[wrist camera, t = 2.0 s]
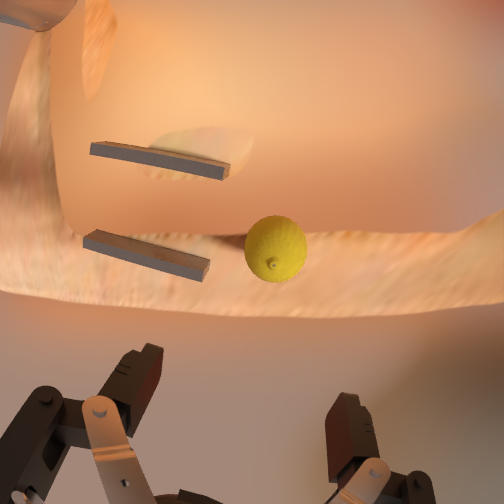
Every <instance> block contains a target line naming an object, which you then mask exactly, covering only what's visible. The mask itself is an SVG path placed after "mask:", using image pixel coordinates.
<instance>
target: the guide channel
mask: <svg viewBox="0 0 504 504" xmlns="http://www.w3.org/2000/svg"><path fill="white" fill-rule="evenodd" d="M90 155H96V156H102V157H108V158H114V159H120V160H125V161H130V162H136V163H141V164H146V165H151V166H156V167H161V168H166V169H171V170H176V171H181V172H186V173H190V174H195V175H200V176H204V177H209V178H213V179H217V180H224V179H225V178H226V177H228V174H229V169H230V164H226V163H221V162H217V161H212V160H208V159H203V158H198V157H193V156H188V155H183V154H178V153H173V152H167V151H162V150H156V149H151V148H145V147H139V146H133V145H127V144H120V143H114V142H107V141H105V142H96V143H91V148H90ZM83 248H86V249H89V250H92V251H96V252H99V253H102V254H105V255H109V256H112V257H115V258H119V259H122V260H125V261H129V262H132V263H135V264H139V265H142V266H146V267H149V268H152V269H156V270H159V271H163V272H166V273H170V274H174V275H177V276H181V277H184V278H188V279H192V280H195V281H199V282H202V281H203V279H204V277H205V276H206V274H207V272H208V270H209V265H210V260H208V259H205V258H201V257H197V256H193V255H189V254H186V253H182V252H178V251H174V250H171V249H167V248H163V247H159V246H156V245H152V244H148V243H145V242H141V241H137V240H134V239H130V238H126V237H123V236H119V235H116V234H112V233H108V232H105V231H101V230H95V231H93V232H92V233H90V234H88V235H86V236H85V237H83Z"/></svg>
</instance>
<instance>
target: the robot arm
mask: <svg viewBox="0 0 504 504" xmlns="http://www.w3.org/2000/svg"><path fill="white" fill-rule="evenodd" d="M76 2H77V0H0V22H3V23H7V24H12V25H16V26H20V27H24V28H27V29H32V30H36V31H46V30H49V29H51V28H52V27H54V26H56V25H57V24H58V23H60V22H61V21H62V20H63V19H64V18H65V17H66V16H67V15H68V14H69V12H70V11H71V10H72V8H73V7H74V5H75V4H76ZM163 352H164V350H163V348H162V347H159V346H156V345H153V344H150V343H147V344H146V345H145V346H144V348H143V349H142V351H141V352H138V351H135V350H132V351H130V352H129V353H127V354H125V355H124V356H123V357H122V359H121V360H120V362H119V364H118V365H117V366H116V368H115V370H114V371H113V372H112V374H111V375H110V377H109V378H108V380H107V381H106V383H105V384H104V386H103V387H102V389H101V390H100V392H99V393H98V395H96V396H92V397H89V398H88V399H86V400H83V401H80V400H73V399H67V398H63V397H62V394H61V393H60V392H59V391H58V390H57V389H56V388H54V387H51V386H41V387H38V388H36V389H35V390H34V391H33V392H32V393H31V395H30V396H29V397H28V399H27V400H26V402H25V403H24V405H23V406H22V407H21V409H20V411H19V412H18V413H17V415H16V416H15V418H14V419H13V421H12V422H11V424H10V425H9V426H8V428H7V430H6V431H5V433H4V434H3V436H2V437H1V439H0V504H45V503H44V501H45V499H46V497H47V494H48V492H49V490H50V488H51V486H52V484H53V482H54V479H55V477H56V475H57V473H58V471H59V469H60V467H61V465H62V463H63V461H64V459H65V457H66V455H67V452H68V451H69V449H70V447H71V446H75V447H80V448H86V449H92V452H93V456H94V459H95V463H96V466H97V469H98V472H99V476H100V479H101V481H102V485H103V487H104V490H105V493H106V495H107V498H108V501H109V504H223V503H220V502H218V501H216V500H214V499H211V498H209V497H207V496H204V495H200V494H196V493H192V492H188V491H185V490H181V489H180V490H179V494H178V495H177V494H176V495H175V494H165V495H158V496H153V494H152V491H151V490H150V487H149V485H148V482H147V480H146V478H145V476H144V473H143V471H142V469H141V466H140V464H139V461H138V459H137V456H136V454H135V452H134V450H133V449H131V447H130V444H129V442H128V439H127V436H129V437H131V438H132V437H133V435H134V433H135V431H136V429H137V427H138V425H139V422H140V420H141V418H142V416H143V414H144V412H145V410H146V408H147V406H148V404H149V402H150V400H151V398H152V396H153V393H154V391H155V389H156V387H157V385H158V383H159V380H160V377H161V371H162V361H163ZM325 432H326V444H327V460H328V476H329V482H331V483H338V488H337V489H336V490H335V491H334V492H333V493H332V495H331V496H330V497H329V498H328V499H327V500H326V502H324V503H323V504H436V501H435V496H434V491H433V486H432V481H431V479H430V477H429V476H428V475H427V474H426V473H424V472H422V471H413V472H411V473H410V474H408V475H407V476H406V475H402V474H399V473H395V472H392V471H391V470H390V467H389V465H388V464H387V463H386V462H385V461H384V460H382V459H380V455H379V450H378V446H377V441H376V436H375V433H374V427H373V422H372V418H371V415H370V413H369V412H368V410H367V409H366V407H364V406H361V405H360V401H359V397H358V395H356V394H350V393H344V392H342V393H340V395H339V396H338V398H337V400H336V401H335V403H334V404H333V406H332V407H331V409H330V411H329V412H328V414H327V416H326V420H325Z"/></svg>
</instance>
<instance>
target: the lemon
mask: <svg viewBox="0 0 504 504" xmlns="http://www.w3.org/2000/svg"><path fill="white" fill-rule="evenodd" d="M244 253H245V259H246V261H247V264H248V266H249V268H250V269H251V271H252V272H253V273H254V274H255V275H256V276H258V277H259V278H261V279H263V280H265V281H268V282H283V281H286V280H288V279H290V278H292V277H294V276H295V275H296V274H297V273H298V272H299V271H300V269H301V268H302V266H303V265H304V262H305V259H306V256H307V242H306V237H305V235H304V233H303V231H302V229H301V228H300V227H299V226H298V225H297V224H296V223H295V222H293V221H292V220H291V219H289V218H286V217H283V216H269V217H266V218H263V219H261V220H260V221H258V222H257V223H256V224H254V226H253V227H252V228H251V229H250V230H249V232H248V234H247V237H246V239H245V245H244Z"/></svg>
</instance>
